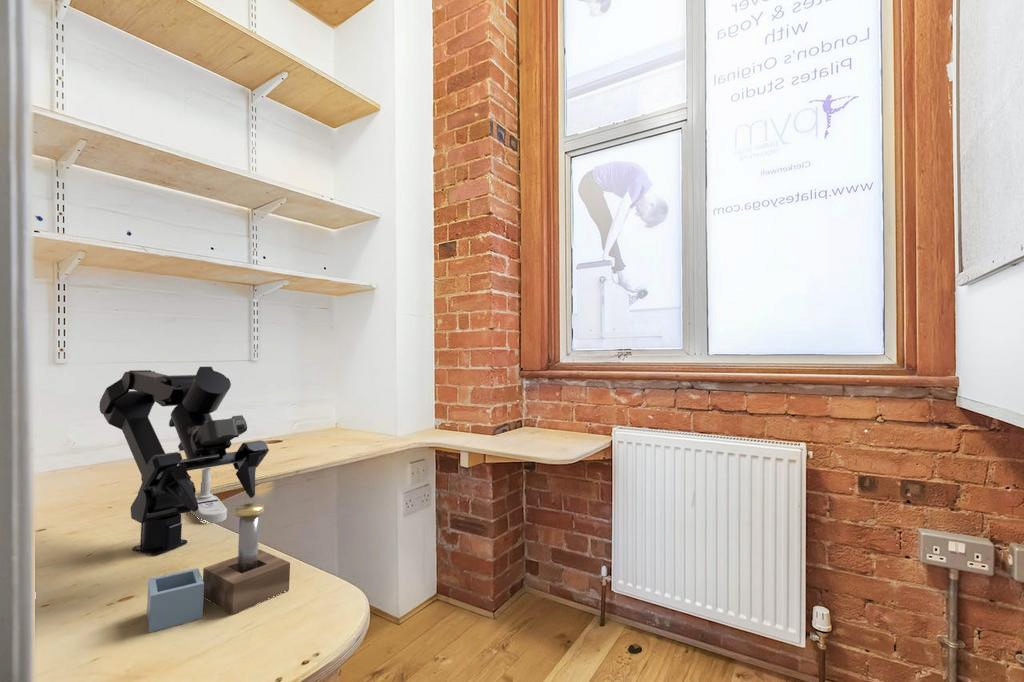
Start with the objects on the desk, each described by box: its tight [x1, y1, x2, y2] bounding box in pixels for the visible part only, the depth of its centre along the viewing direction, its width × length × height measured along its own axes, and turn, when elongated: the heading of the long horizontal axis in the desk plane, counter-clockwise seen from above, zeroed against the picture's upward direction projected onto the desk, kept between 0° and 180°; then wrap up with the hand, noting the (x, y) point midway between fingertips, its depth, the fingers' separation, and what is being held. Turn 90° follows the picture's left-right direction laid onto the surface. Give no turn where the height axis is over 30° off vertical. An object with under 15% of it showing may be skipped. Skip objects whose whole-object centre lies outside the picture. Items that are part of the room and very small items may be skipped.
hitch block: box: [202, 548, 291, 616], centre depth 77 cm, size 9×9×4 cm
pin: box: [235, 502, 265, 574], centre depth 77 cm, size 4×4×14 cm
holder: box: [146, 567, 204, 634], centre depth 70 cm, size 6×6×5 cm
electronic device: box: [193, 467, 228, 524], centre depth 113 cm, size 5×10×15 cm
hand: (226, 502), depth 81 cm, fingers open, 9 cm apart
